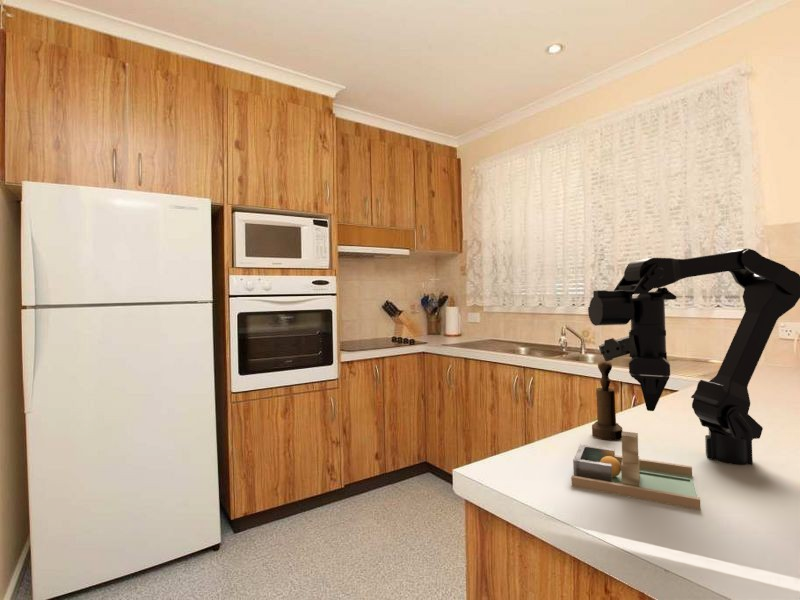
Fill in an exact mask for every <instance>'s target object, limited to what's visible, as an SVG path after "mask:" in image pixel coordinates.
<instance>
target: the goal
mask: <svg viewBox="0 0 800 600" xmlns="http://www.w3.org/2000/svg"><path fill="white" fill-rule="evenodd" d="M615 451H616V448H610V447H601V446H596V445H588V444H581V443H580V444H579V446H578V449H577V451H576V453H575V455H574V458H573V460H572V462H573V463H572V464H573V476H579V477H585V478H590V479H596V480H602V481H608V482H612V464H607V463H601V462H600V460H601V459H602V458H603V457H606V456H611V457H614V458H615V455H616V452H615Z"/></svg>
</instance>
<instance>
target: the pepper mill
mask: <svg viewBox="0 0 800 600" xmlns="http://www.w3.org/2000/svg"><path fill="white" fill-rule="evenodd" d="M597 368H598V371H599V372H600V373H601V378H599V382H600V387H597V388H595V395H596V397H595V398H596V412H597V413H596V414H597V416H596V417H597V418H596V419H597V421H595V422H594V423H592V425H591V434H592V436H593V437H594V438H596V439H598V440H604V441H619V440H622V431H623V427H622V426H621V425H620V424H619V423H617V416H616V391H615V389H614V388H611V387H610V384H611V378H609V377H610V376H609V374H610V372H611V371H612V368H613V364H612V363H611V360H610V361H605V359H601V360H599V362H598V364H597Z"/></svg>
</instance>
